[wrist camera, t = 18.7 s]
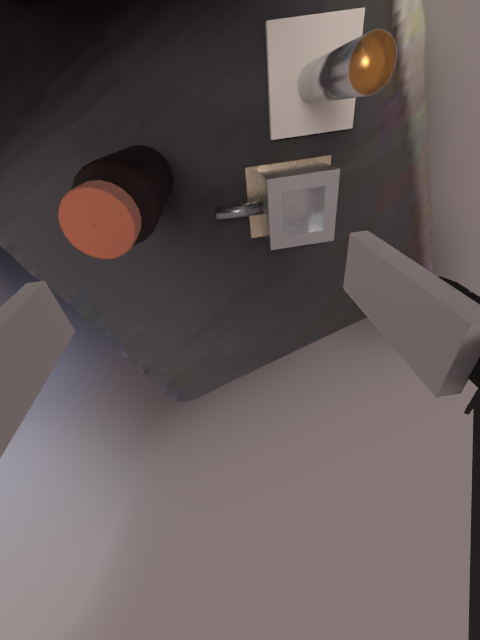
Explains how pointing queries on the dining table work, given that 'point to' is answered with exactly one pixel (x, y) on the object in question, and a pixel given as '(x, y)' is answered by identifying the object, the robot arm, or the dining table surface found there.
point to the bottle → (116, 201)
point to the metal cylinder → (350, 69)
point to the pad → (290, 58)
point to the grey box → (289, 201)
